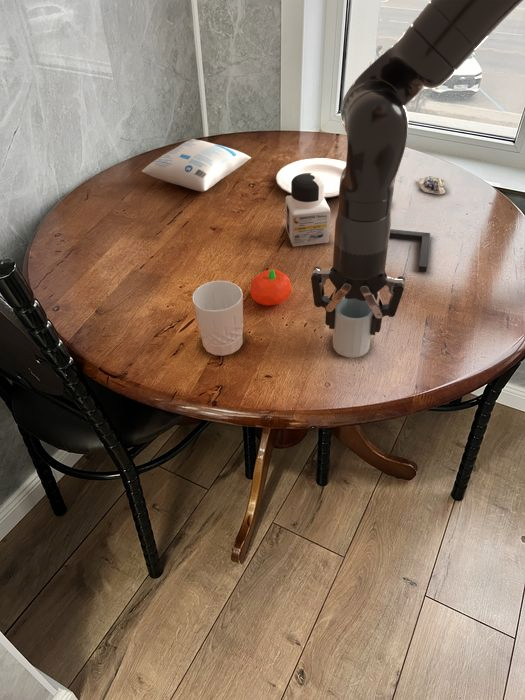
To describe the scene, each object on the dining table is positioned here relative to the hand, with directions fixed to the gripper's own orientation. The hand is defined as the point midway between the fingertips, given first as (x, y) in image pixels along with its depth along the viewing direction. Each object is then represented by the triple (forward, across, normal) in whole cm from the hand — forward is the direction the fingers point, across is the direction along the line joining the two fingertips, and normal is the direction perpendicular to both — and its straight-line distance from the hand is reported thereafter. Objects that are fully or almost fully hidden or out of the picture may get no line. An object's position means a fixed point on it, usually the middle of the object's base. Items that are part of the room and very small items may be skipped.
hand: (352, 328), depth 87 cm
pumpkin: (+4, -16, +9) cm, 19 cm away
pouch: (+4, -46, +53) cm, 70 cm away
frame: (+4, +4, +29) cm, 29 cm away
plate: (+4, -16, +56) cm, 58 cm away
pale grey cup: (+4, 0, 0) cm, 4 cm away
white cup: (+4, -21, -4) cm, 22 cm away
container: (+4, -14, +32) cm, 35 cm away
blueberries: (+4, +11, +59) cm, 60 cm away
